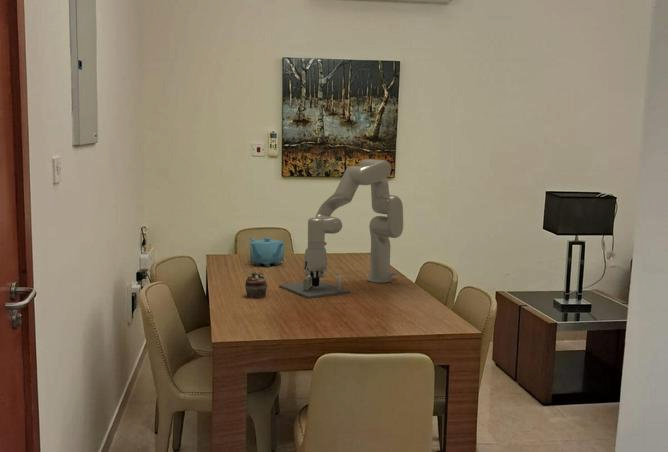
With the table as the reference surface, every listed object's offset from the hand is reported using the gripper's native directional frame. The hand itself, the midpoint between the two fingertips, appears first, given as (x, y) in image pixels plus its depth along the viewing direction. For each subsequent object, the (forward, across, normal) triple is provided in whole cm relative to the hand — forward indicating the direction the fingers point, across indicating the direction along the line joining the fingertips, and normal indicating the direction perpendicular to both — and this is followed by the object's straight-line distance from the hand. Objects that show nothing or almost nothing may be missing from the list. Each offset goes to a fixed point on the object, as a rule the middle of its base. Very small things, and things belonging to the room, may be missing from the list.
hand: (315, 285), depth 287 cm
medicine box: (+3, -18, -28) cm, 33 cm away
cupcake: (+3, +27, -5) cm, 28 cm away
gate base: (+3, -1, -2) cm, 4 cm away
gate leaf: (+1, -1, -5) cm, 5 cm away
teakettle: (+3, -10, -65) cm, 66 cm away
